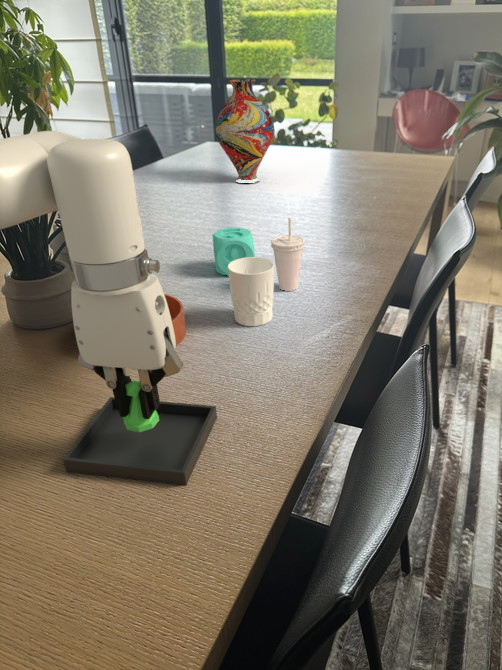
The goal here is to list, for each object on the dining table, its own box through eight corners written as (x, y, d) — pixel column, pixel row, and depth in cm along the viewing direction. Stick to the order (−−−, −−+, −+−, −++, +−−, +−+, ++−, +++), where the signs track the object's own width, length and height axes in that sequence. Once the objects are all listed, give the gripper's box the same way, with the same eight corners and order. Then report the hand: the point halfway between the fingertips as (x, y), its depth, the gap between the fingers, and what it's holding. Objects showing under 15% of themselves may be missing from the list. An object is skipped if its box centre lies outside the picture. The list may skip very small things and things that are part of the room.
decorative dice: (251, 261, 122) (249, 225, 118) (255, 275, 115) (253, 237, 111) (215, 264, 121) (211, 228, 117) (217, 278, 114) (214, 241, 110)
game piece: (157, 431, 66) (150, 390, 63) (121, 433, 66) (112, 392, 63) (161, 410, 70) (154, 370, 67) (126, 412, 70) (118, 372, 66)
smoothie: (293, 297, 106) (292, 225, 98) (266, 290, 109) (263, 219, 101) (310, 285, 110) (311, 215, 103) (283, 279, 113) (282, 211, 106)
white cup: (268, 305, 103) (266, 254, 97) (281, 324, 96) (280, 270, 91) (227, 312, 101) (222, 260, 95) (237, 331, 94) (234, 277, 89)
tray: (66, 471, 65) (62, 459, 64) (112, 407, 76) (110, 396, 75) (186, 485, 63) (184, 473, 62) (217, 417, 74) (215, 406, 73)
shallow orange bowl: (74, 355, 89) (68, 331, 86) (115, 312, 102) (111, 290, 99) (167, 362, 86) (163, 337, 84) (197, 317, 99) (195, 294, 97)
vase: (207, 183, 182) (198, 82, 166) (242, 172, 195) (237, 76, 179) (253, 191, 173) (247, 84, 157) (286, 178, 186) (285, 78, 170)
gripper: (196, 259, 59) (211, 399, 69) (58, 253, 61) (92, 389, 71) (172, 287, 53) (193, 436, 63) (20, 279, 55) (63, 424, 65)
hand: (139, 410), depth 67 cm, fingers closed on game piece, 2 cm apart
